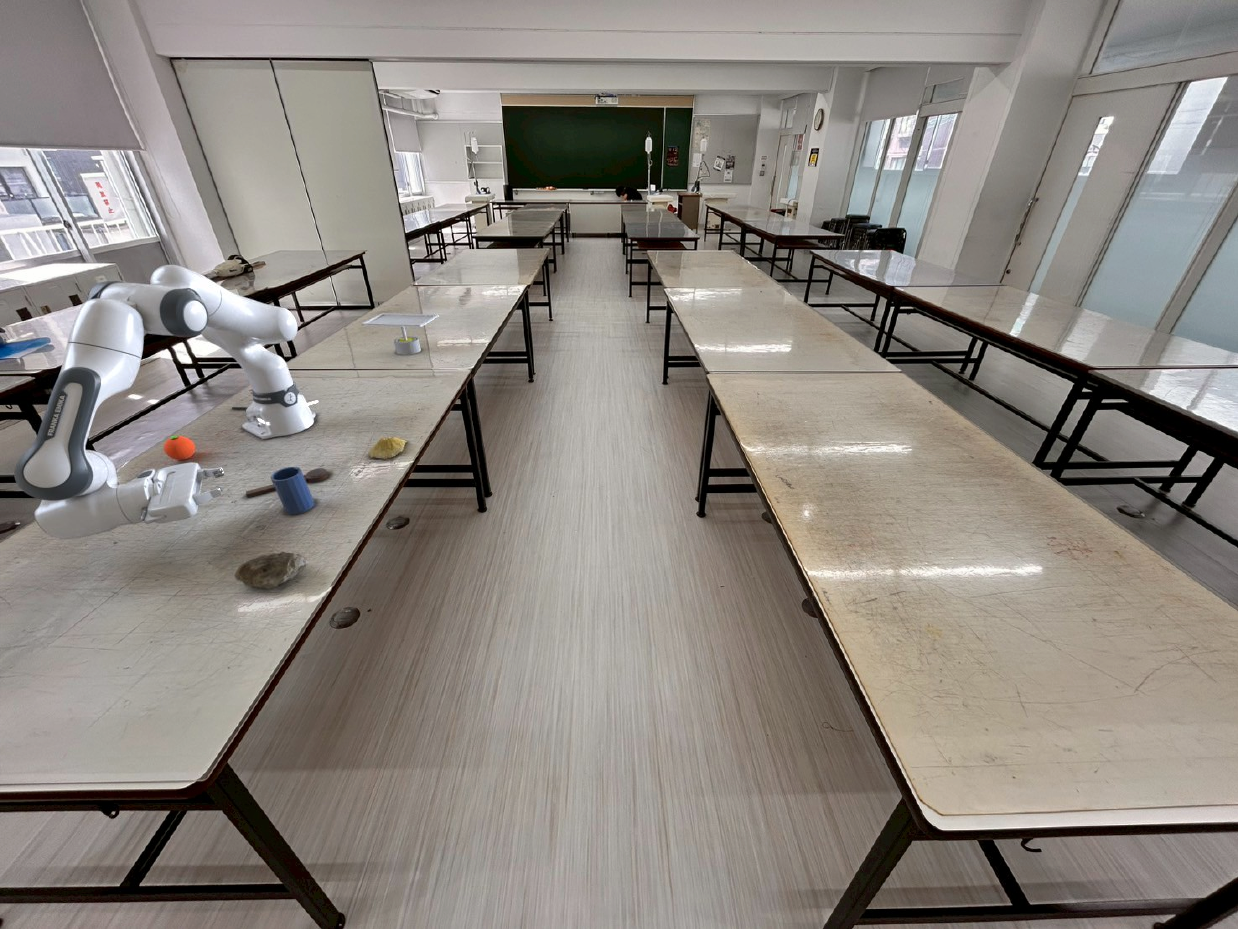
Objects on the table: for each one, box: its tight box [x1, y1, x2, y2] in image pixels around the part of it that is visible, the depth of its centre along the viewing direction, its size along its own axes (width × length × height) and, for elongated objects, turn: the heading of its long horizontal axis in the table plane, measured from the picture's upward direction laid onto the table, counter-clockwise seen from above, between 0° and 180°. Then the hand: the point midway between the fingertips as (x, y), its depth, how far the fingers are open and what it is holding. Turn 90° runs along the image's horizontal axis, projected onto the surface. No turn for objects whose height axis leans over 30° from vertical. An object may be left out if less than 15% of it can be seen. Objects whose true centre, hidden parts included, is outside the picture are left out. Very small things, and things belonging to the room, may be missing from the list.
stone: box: [233, 551, 309, 590], centre depth 102 cm, size 13×8×8 cm
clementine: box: [163, 435, 196, 461], centre depth 145 cm, size 8×7×7 cm
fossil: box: [368, 436, 407, 460], centre depth 148 cm, size 11×6×10 cm
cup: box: [270, 466, 315, 515], centre depth 123 cm, size 6×6×10 cm
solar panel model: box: [360, 312, 440, 356], centre depth 224 cm, size 28×17×15 cm, turn 82°
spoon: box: [245, 467, 329, 498], centre depth 134 cm, size 19×5×2 cm, turn 122°
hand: (222, 480), depth 114 cm, fingers open, 8 cm apart
